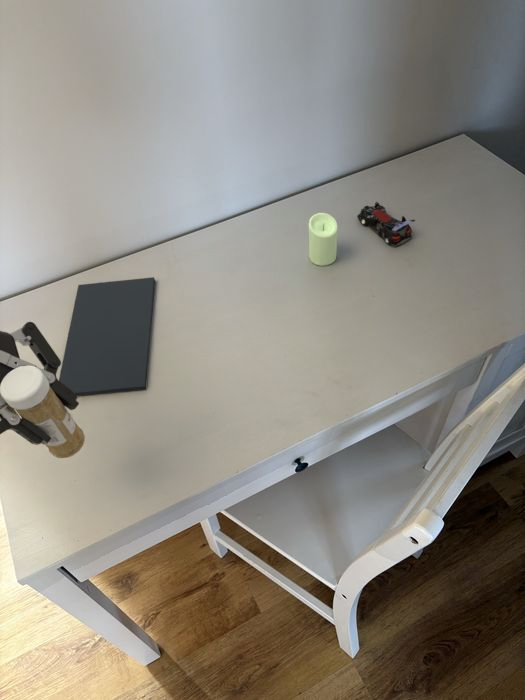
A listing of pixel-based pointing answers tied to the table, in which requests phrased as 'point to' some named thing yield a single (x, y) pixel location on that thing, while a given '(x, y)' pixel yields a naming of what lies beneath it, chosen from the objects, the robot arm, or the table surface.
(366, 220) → the toy car
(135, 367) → the mat
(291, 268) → the table surface
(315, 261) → the candle
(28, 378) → the sprinkles bottle
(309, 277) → the table surface
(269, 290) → the table surface
